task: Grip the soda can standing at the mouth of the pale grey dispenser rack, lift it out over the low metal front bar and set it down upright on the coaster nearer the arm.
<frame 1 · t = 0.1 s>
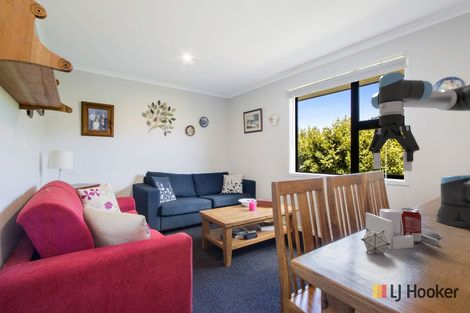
hand: (391, 169, 85), 28 cm above the table, tool pointing down, fingers open, 13 cm apart
dispenser rack: (392, 241, 85), on the table
soda can: (410, 240, 86), on the table
coaster: (425, 235, 91), on the table
game die: (375, 254, 76), on the table
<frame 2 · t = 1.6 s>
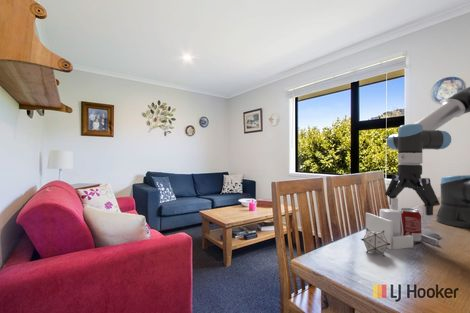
hand: (409, 218, 86), 9 cm above the table, tool pointing down, fingers open, 13 cm apart
nothing on the table moved.
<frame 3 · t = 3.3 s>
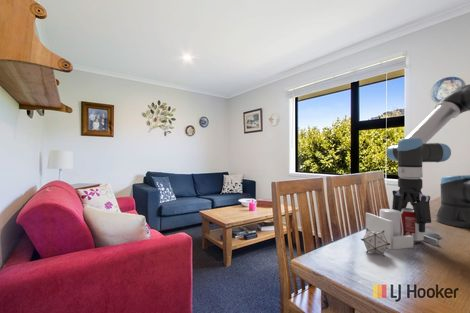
hand: (410, 236, 86), 2 cm above the table, tool pointing down, fingers closed on soda can, 7 cm apart
soda can: (410, 240, 86), on the table, touching gripper
everything else where it was.
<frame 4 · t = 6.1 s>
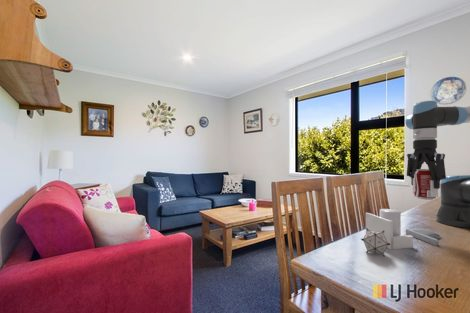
hand: (424, 194, 91), 17 cm above the table, tool pointing down, fingers closed on soda can, 7 cm apart
soda can: (424, 198, 91), point 15 cm above the table, touching gripper
everything else where it was.
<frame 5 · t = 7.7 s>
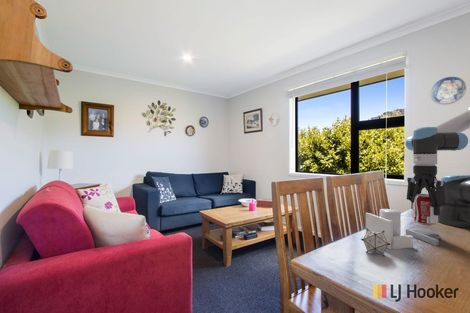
hand: (424, 220, 91), 6 cm above the table, tool pointing down, fingers closed on soda can, 7 cm apart
soda can: (424, 224, 91), point 5 cm above the table, touching gripper
everything else where it was.
when the fingers open (4 cm above the table, at t = 9.1 s): soda can drops 2 cm, resting on coaster.
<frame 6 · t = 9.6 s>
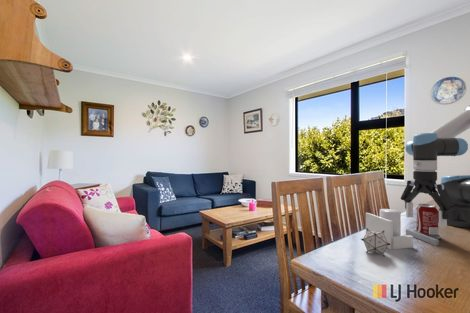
hand: (425, 221, 91), 6 cm above the table, tool pointing down, fingers open, 13 cm apart
soda can: (427, 234, 91), resting on coaster
everything else where it was.
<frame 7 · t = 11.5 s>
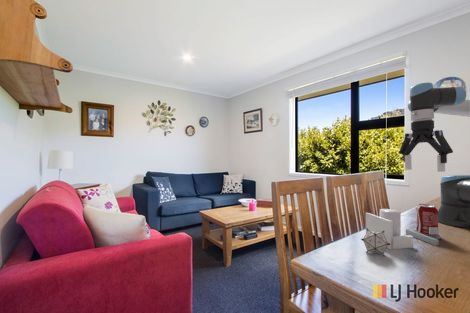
hand: (423, 170, 94), 27 cm above the table, tool pointing down, fingers open, 13 cm apart
nothing on the table moved.
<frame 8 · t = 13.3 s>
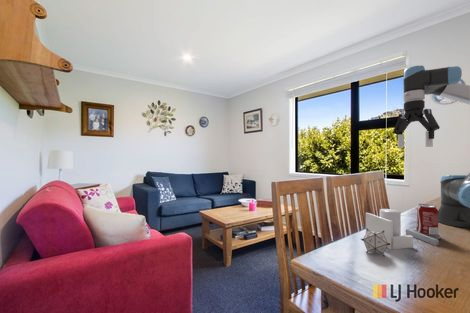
hand: (414, 147, 102), 37 cm above the table, tool pointing down, fingers open, 13 cm apart
nothing on the table moved.
at the end: soda can 0.8 cm from the coaster (horizontally); soda can tilted 0°; the gripper is holding nothing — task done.
